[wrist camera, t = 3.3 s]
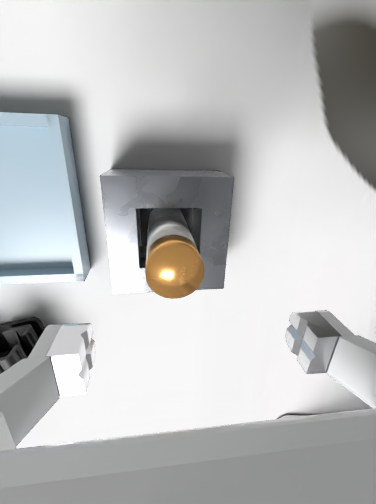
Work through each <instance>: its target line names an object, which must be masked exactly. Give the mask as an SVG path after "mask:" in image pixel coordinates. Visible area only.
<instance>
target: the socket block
mask: <svg viewBox="0 0 376 504" xmlns="http://www.w3.org/2000/svg"><path fill="white" fill-rule="evenodd" d="M100 182H101V191H102V200H103V209H104V218H105V227H106V236H107V245H108V254H109V263H110V272H111V281H112V290H113V294H117V293H138V292H154V291H153V290H152V289H151V288H150V287H149V285H148V283H147V281H146V277H145V268H146V253H147V246H142V242H141V223H140V208H193V210H192V237H193V240H194V242H195V245H196V247H197V249H198V252H199V254H200V257H201V259H202V261H203V264H204V278H203V280H202V283H201V284H200V286H199V287H198V288H197V289H196V290H202V289H223V288H224V279H225V268H226V257H227V247H228V236H229V226H230V215H231V205H232V194H233V183H234V177H233V176H230V175H228V174H225V173H223V172H221V171H202V170H131V169H110V170H108V171H107V172H105V173H103V174H102V175H100Z"/></svg>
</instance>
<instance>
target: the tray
mask: <svg viewBox="0 0 376 504" xmlns="http://www.w3.org/2000/svg"><path fill="white" fill-rule="evenodd" d="M90 269H91V268H90V262H89V255H88V248H87V241H86V234H85V227H84V221H83V214H82V207H81V200H80V193H79V186H78V180H77V173H76V166H75V159H74V152H73V145H72V139H71V132H70V125H69V118H68V117H64V116H61V115H58V114H33V113H9V112H0V284H20V283H45V282H70V281H85V279H86V277H87V275H88V273H89V271H90Z"/></svg>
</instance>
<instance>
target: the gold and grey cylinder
mask: <svg viewBox="0 0 376 504" xmlns="http://www.w3.org/2000/svg"><path fill="white" fill-rule="evenodd" d="M145 277H146V281H147V283H148V285H149V287H150V288H151V289H152V290H153V291H154V292H155V293H157V294H158V295H160V296H163V297H166V298H181V297H185V296H187V295H189V294H191V293H193V292H194V291H195V290H196V289H197V288H198V287H199V286H200V284H201V283H202V280H203V278H204V264H203V261H202V259H201V257H200V254H199V252H198V249H197V247H196V245H195V242H194V240H193V237H192V235H191V233H190V230H189V228H188V226H187V223H186V221H185V218H184V216H183V214H182V212H181V211H180V210H179V209H178V208H155V209H154V210H153V211H152V212H151V214H150V216H149V222H148V238H147V253H146V268H145Z"/></svg>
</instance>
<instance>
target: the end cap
mask: <svg viewBox="0 0 376 504" xmlns="http://www.w3.org/2000/svg"><path fill="white" fill-rule="evenodd" d="M44 330H45V328H44V326H43V324H42V323H41V321H40V319H39V318H36V317H32V318H28V319H23V320H19V321H14V322H10V323H5V324H1V325H0V374H1V373H3V372H4V371H6V370H7V369H9V368H10V367H12V366H13V365H14V364H16V363H17V362H19V361H20V360H22V359H26V358H28V357H29V355H30V353H31V352H32V350H33V348H34V347H35V345H36V343H37V341H38V340H39V338H40V336H41V335H42V333H43V331H44Z"/></svg>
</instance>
